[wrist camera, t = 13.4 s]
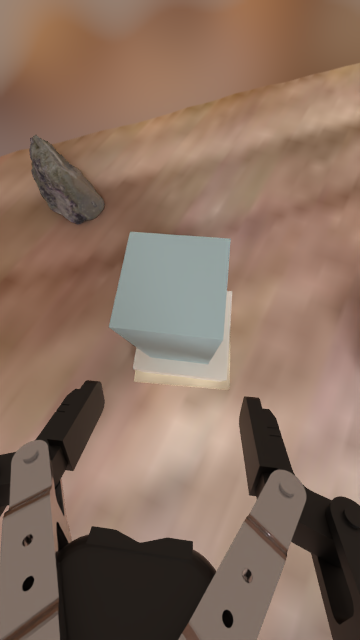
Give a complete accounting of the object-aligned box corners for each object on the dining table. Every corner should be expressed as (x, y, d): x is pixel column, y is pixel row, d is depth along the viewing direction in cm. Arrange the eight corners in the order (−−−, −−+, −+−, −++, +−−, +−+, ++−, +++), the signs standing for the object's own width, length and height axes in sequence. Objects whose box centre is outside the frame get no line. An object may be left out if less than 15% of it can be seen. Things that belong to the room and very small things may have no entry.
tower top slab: (219, 381, 23) (226, 380, 19) (144, 372, 24) (132, 368, 19) (224, 309, 26) (232, 291, 21) (155, 302, 26) (147, 283, 21)
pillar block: (208, 364, 19) (223, 339, 9) (150, 357, 19) (108, 327, 10) (213, 308, 20) (230, 238, 11) (158, 303, 21) (130, 231, 11)
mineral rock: (45, 171, 40) (-2, 101, 30) (105, 162, 39) (77, 89, 30) (41, 232, 36) (-14, 175, 26) (107, 222, 36) (77, 162, 26)
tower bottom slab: (222, 389, 28) (229, 389, 23) (143, 382, 29) (133, 381, 24) (225, 313, 31) (231, 299, 26) (152, 308, 31) (145, 294, 27)
